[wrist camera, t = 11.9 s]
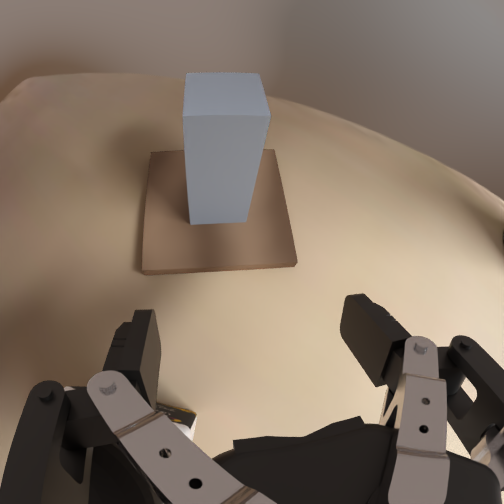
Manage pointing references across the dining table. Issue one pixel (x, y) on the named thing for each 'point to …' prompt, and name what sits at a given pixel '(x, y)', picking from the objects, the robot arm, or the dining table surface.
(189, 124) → the block
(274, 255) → the board
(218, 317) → the dining table surface
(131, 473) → the medicine bottle
